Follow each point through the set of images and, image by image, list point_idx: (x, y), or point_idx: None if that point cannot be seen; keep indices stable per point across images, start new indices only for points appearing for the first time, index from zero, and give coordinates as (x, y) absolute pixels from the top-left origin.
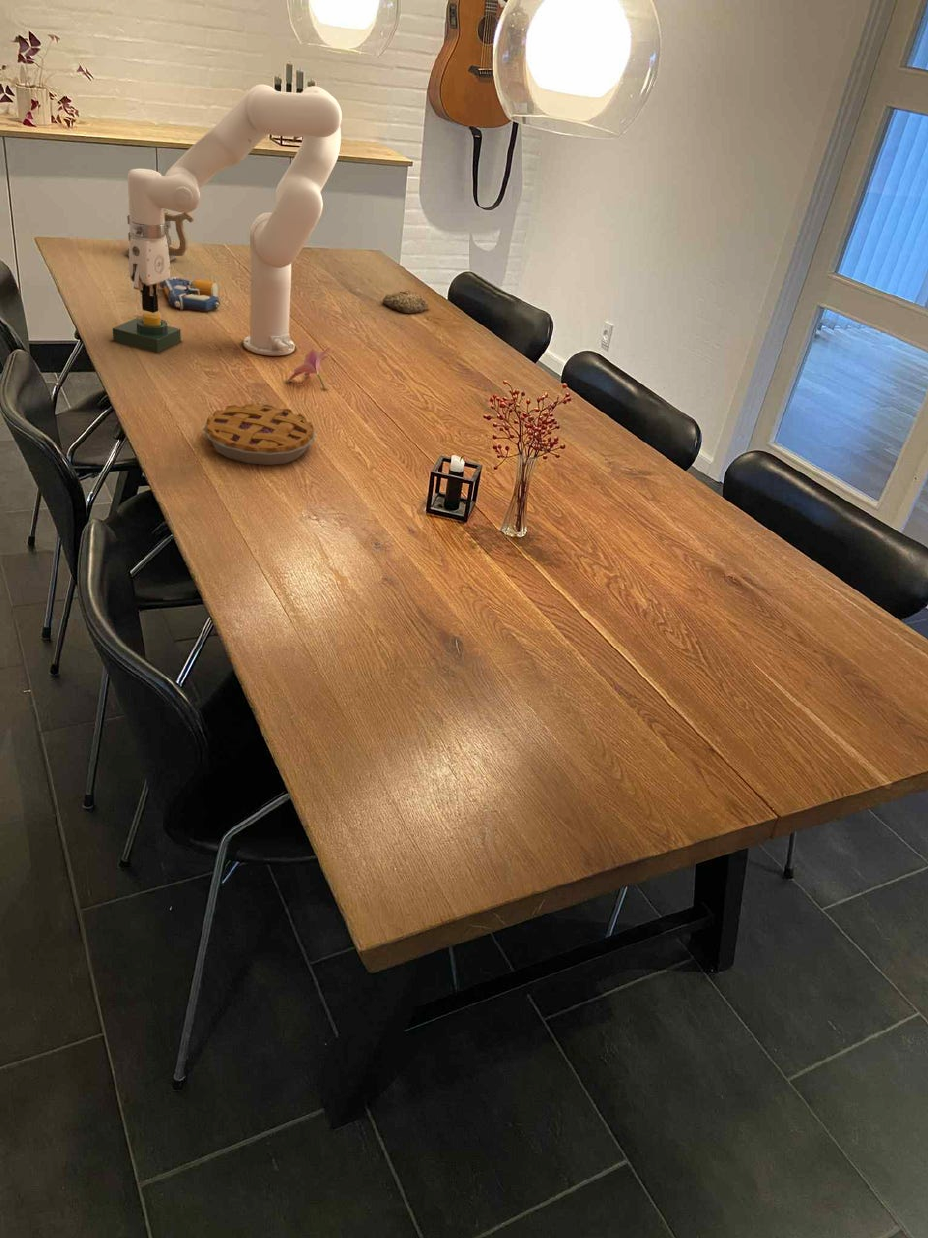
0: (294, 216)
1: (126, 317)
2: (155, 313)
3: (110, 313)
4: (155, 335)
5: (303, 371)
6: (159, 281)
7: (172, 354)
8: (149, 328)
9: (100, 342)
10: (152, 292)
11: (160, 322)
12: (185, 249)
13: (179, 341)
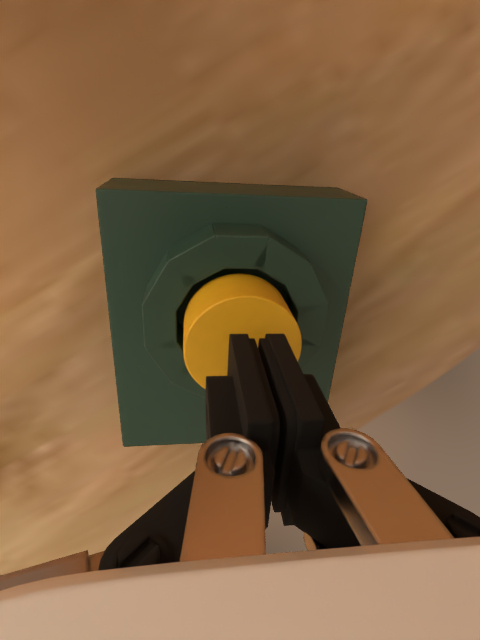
0: None
1: (36, 503)
2: (193, 353)
3: (50, 549)
4: (304, 246)
5: None
6: (397, 553)
7: (316, 109)
8: (322, 290)
9: (340, 418)
10: (332, 459)
11: (225, 281)
12: None
13: (124, 179)
